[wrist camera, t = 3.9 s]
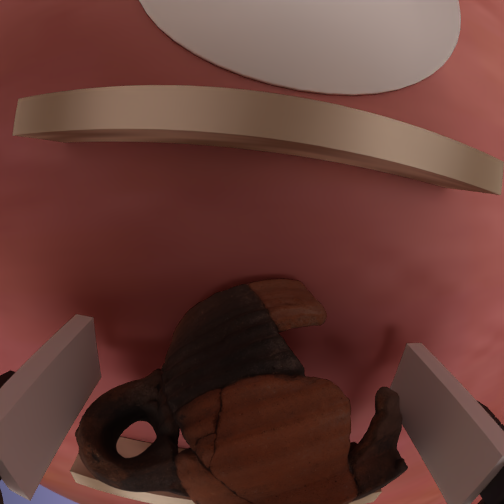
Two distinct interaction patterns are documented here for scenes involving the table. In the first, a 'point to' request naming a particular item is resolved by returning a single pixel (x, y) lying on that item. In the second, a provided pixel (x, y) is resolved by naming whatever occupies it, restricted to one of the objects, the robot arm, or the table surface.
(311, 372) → the table surface
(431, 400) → the robot arm
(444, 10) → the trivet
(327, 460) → the pottery mug
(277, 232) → the table surface
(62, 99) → the pair of beige bars
